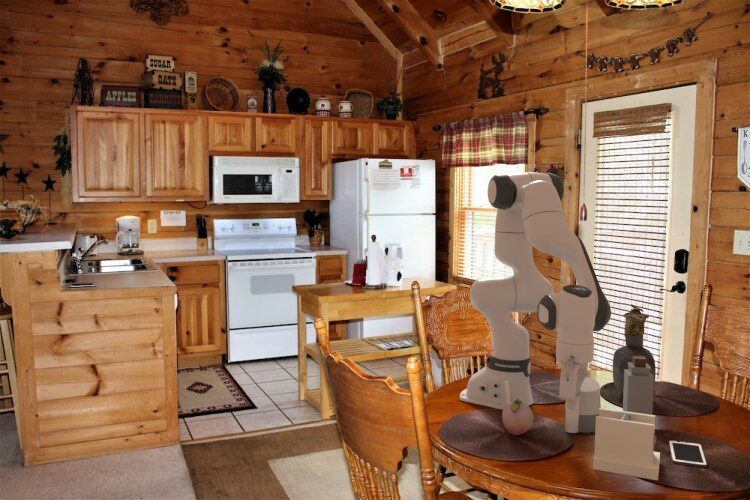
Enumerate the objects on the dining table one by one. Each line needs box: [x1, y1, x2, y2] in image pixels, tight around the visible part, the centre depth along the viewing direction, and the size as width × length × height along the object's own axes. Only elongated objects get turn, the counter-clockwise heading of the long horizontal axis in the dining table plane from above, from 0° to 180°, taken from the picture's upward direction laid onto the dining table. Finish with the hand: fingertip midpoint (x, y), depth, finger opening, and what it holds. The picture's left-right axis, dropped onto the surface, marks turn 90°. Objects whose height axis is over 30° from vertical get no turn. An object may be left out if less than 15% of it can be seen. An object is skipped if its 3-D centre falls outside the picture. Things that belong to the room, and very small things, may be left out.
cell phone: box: [668, 439, 708, 468], centre depth 164 cm, size 8×15×1 cm, turn 159°
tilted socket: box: [592, 407, 661, 481], centre depth 156 cm, size 14×11×12 cm
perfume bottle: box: [622, 356, 655, 415], centre depth 189 cm, size 7×7×18 cm
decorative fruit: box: [501, 399, 535, 436], centre depth 176 cm, size 9×8×10 cm
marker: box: [564, 390, 580, 434], centre depth 164 cm, size 3×3×11 cm
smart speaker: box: [564, 376, 602, 435], centre depth 180 cm, size 10×9×14 cm
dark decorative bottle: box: [612, 304, 657, 401], centre depth 207 cm, size 11×19×30 cm, turn 172°
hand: (572, 405), depth 164 cm, fingers closed on marker, 3 cm apart
